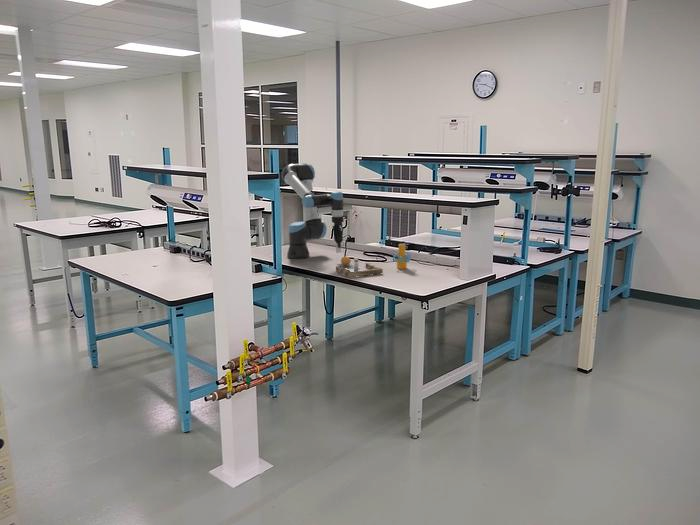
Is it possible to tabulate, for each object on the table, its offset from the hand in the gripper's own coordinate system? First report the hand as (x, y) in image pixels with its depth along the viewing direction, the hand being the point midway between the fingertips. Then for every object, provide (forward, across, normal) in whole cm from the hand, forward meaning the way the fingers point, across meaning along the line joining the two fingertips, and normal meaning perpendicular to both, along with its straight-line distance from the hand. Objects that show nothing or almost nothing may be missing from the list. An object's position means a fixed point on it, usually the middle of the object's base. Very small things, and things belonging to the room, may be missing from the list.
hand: (338, 252), depth 341 cm
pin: (+7, +27, 0) cm, 28 cm away
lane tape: (+7, +20, 0) cm, 22 cm away
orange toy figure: (+7, +33, +28) cm, 44 cm away
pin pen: (+7, +30, 0) cm, 31 cm away
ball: (+4, +12, 0) cm, 12 cm away
